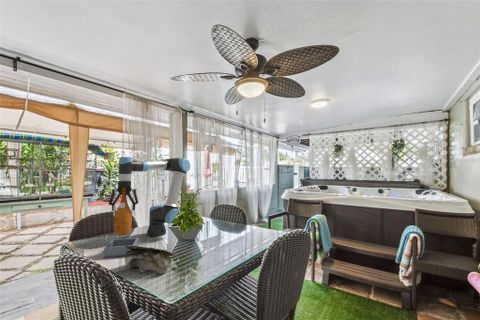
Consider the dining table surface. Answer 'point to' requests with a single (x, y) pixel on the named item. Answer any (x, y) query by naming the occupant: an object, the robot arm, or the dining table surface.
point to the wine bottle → (123, 217)
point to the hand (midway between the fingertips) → (123, 215)
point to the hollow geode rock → (148, 258)
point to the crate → (119, 247)
